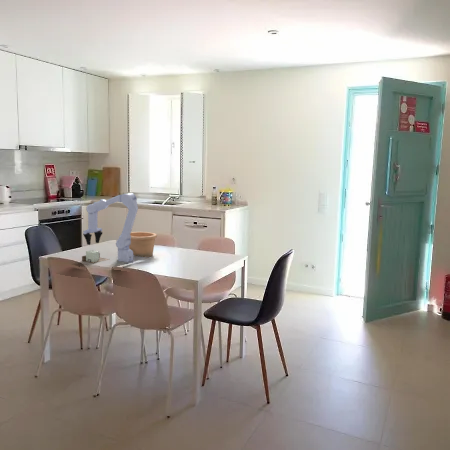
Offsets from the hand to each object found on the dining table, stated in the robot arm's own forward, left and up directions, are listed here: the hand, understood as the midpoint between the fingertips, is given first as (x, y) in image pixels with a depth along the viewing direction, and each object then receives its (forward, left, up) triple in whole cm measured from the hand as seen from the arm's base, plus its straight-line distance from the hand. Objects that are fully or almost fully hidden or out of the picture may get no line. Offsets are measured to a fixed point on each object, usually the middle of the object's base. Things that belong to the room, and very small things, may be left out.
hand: (93, 243), depth 290 cm
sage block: (-7, +8, -9) cm, 13 cm away
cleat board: (-7, +5, -10) cm, 13 cm away
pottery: (-15, -29, -11) cm, 34 cm away
